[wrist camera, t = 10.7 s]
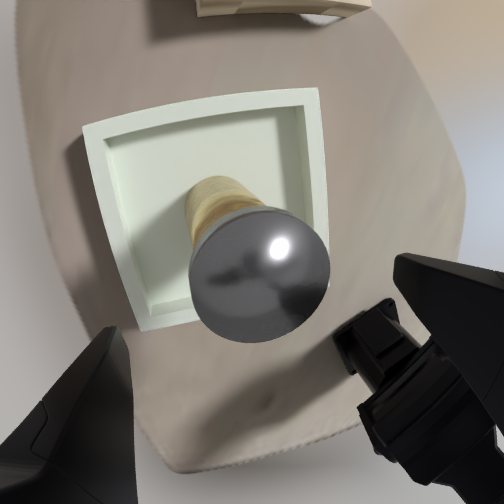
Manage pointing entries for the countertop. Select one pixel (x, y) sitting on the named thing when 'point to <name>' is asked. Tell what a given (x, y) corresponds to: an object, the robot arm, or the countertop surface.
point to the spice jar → (251, 263)
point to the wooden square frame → (282, 7)
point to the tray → (193, 171)
